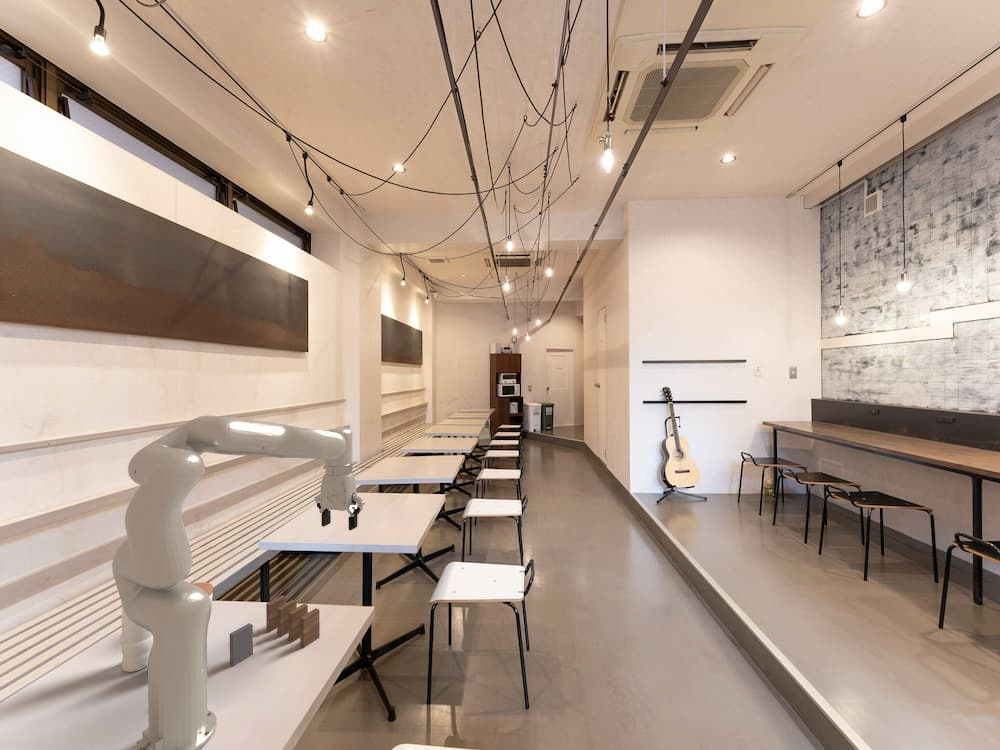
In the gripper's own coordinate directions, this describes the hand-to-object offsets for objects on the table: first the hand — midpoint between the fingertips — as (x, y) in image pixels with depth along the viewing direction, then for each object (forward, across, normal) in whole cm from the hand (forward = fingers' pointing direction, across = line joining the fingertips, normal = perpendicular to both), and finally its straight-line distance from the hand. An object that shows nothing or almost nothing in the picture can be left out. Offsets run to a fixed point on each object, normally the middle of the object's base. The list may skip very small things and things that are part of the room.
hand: (339, 526), depth 122 cm
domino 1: (+30, -15, -20) cm, 39 cm away
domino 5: (+30, -3, -9) cm, 31 cm away
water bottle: (+30, -39, -29) cm, 57 cm away
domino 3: (+30, -13, -7) cm, 33 cm away
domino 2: (+30, -18, -6) cm, 35 cm away
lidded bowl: (+30, -45, -13) cm, 56 cm away
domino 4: (+30, -8, -8) cm, 32 cm away
